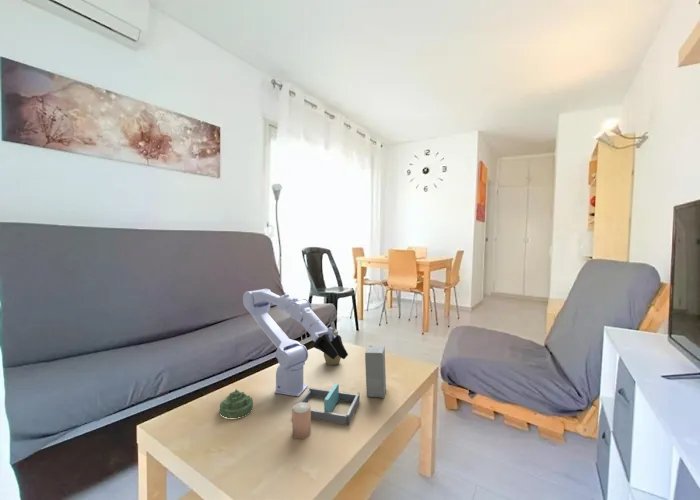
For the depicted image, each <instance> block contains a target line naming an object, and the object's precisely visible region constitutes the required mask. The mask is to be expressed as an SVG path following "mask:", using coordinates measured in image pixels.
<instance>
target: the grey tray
mask: <svg viewBox="0 0 700 500" xmlns="http://www.w3.org/2000/svg"><path fill="white" fill-rule="evenodd" d="M330 390H331V389H330ZM330 390H329V389H323V388H315V387H309V389H308V391H307V392H306V393H305V394H304V396H303V397H302V398H301V400H300V401H299V402H298V403H300V402H305V403H308V401H309V400H310V398H311V397H317V398H322V399H325V398H326V396H327V395H328V393H329V392H330ZM338 401H344V402H348V403H349V402H351V405H350V407H349V409H348V410H347V413H346V414H342V413H338V412H337V413H336V412H325V411H324V410H318V409H312V408H311V420H316V421H322V422H328V423H333V424H334V423H335V424H340V425H346V426H349V425H350V423H351V422H352V419H353V417H354V416H355V415H354V414H355V412H356V410H357V408H358V406H359V403H360V392H357V393H350V392H344V391H343V392H342V391H339V400H338Z"/></svg>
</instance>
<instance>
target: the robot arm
mask: <svg viewBox="0 0 700 500" xmlns="http://www.w3.org/2000/svg"><path fill="white" fill-rule="evenodd" d="M242 301H243V302H242V304H243V307H244V308H245V309H246V311H248V313H249V314H250V315H251V316H252V318H253V320H254V322H255V323H257V325H258V327H260V328H261V330H262V331H263V332H264V334H265V335H266V336H267V337H268V338H269V340H270V341H271V342H272V344H273V345H274V347H276V348H277V349H276V351H275V358H276V359H277V362H278V364H279V365H278V367H277V368H276V371H275V391H274V393H275V394H279V395H288V396H292V397H300V396H301V395H302V393H304V391H305V390H306V389H307V388H308V384H305V383H304V365H306V361H307V360H308V359H309V358H308V357H309V353H308V352H309V351H308V349H307V347H306V346H305V345H304V344H301V343H300V342H299V341H298V340H295V339H290V337H288V335H287V334H286V333H285V332H284V331H283V330H282V328H281V326H279V325H278V324H277V322H276V321H275V320H274V318H272V317H271V315H270V314H269V311H270V310H271V304H273V305H275V306H276V308H277V309H278V310H279V311H281V312H283V313H286V314H289V315H290V316H289V317H290V318H291V319H292V320H296V322H298V323H300V324H301V326H302V327H303V329H305V330H306V332H307V333H308V334H309V335H310V336H309V337H310V339H311V340H312V341H313V342H314V343H313V346H312V347H313V348H314V349H317V350H319V351H321V352H323V354H324V353H325V354H327V355H328V356H329V357H330V358H332V359H335V357H336V356H337V355H338V356H340V357H341V359H342V360H346V358H347V357H348V355H349V354H348V352H347V349H346V348H345V346H344V343H343V341H342V337H341V335H339V334H338V335H337V336H334V335H333V333H332V330H333V328H332V327H331V326H329V327H328V326H326V325H325V323H324V322H323V321H322V320H321V319H320V317H318V316H317V314H316V313H315V312H314V311H313V309H312V304H311V303H310V301H309V300H308V299H306V298H303V299H301V300H300V299H298V297H292V296H290V294H288V293H285V294H283V295H279V294H276V293H275V292H272V291H271V289H269V288H262V289H256V290H250V291H249V290H246V291H245V292H244V293H243V295H242Z"/></svg>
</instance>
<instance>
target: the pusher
mask: <svg viewBox="0 0 700 500" xmlns="http://www.w3.org/2000/svg"><path fill="white" fill-rule="evenodd" d="M339 388H340V385H339V383H337V382H336V383H334V384H333V386H332V387H331V389H330V392H329V393H328V395H327V396H326V398H323V402H324V403H323V408H324V409H323V411H325V412H331V413H333V411H334V409H335V407H336V406H337V404H338V402H339V401H340V400H339V392H340V389H339Z"/></svg>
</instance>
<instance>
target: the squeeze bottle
mask: <svg viewBox="0 0 700 500" xmlns="http://www.w3.org/2000/svg"><path fill="white" fill-rule="evenodd" d="M330 327H332V328H333V330H332V333H333V335H334V336H337V335H339V331H338V329H336V325H335V322H334V321H332V322H331V323H330ZM323 358H324V361H325V363H326V365H329V366H335V365H339V364H340V362H341V359H342V358H341V357H340V356H338V355H337V356H336V357H335V359H332V358H330V357H329V356H328V355H327V354H325V353H324V352H323Z"/></svg>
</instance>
